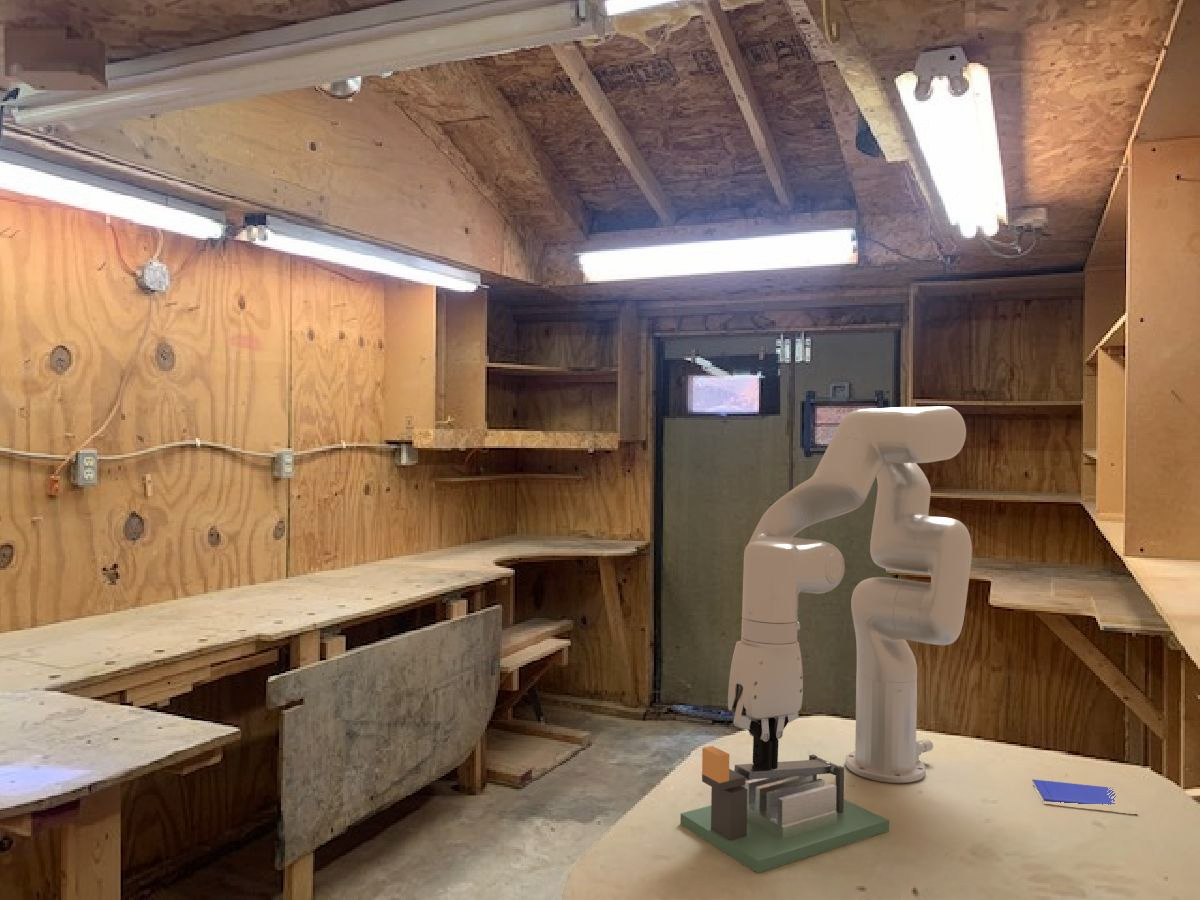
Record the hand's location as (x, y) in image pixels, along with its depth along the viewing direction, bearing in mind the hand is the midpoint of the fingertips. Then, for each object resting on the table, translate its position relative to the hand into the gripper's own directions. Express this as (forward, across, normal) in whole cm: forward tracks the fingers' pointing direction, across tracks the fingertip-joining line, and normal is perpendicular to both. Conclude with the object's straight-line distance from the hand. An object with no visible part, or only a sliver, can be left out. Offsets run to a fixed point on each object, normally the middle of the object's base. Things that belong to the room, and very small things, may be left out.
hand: (764, 766), depth 118 cm
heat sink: (+8, -4, 0) cm, 9 cm away
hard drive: (+9, -51, +15) cm, 54 cm away
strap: (+2, -4, 0) cm, 5 cm away
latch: (+1, +7, 0) cm, 7 cm away
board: (+9, -4, 0) cm, 10 cm away
